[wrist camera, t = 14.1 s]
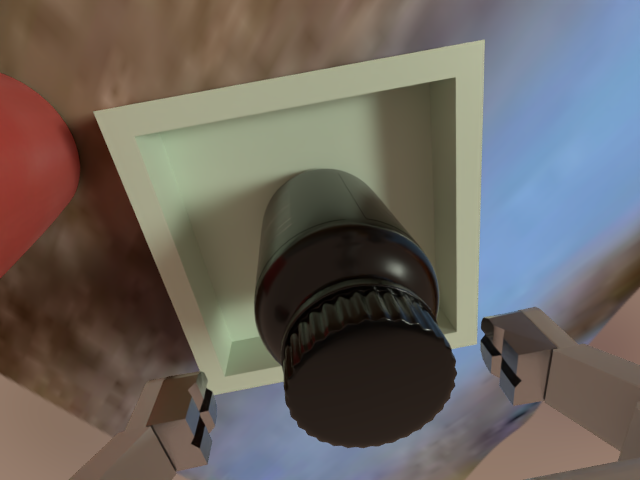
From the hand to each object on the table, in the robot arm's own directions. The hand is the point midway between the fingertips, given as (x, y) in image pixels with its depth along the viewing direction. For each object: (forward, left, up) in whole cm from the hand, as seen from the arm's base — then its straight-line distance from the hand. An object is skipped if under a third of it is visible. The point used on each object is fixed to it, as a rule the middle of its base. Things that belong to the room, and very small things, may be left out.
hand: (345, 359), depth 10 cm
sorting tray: (0, 0, -12) cm, 12 cm away
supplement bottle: (0, 0, -11) cm, 11 cm away
